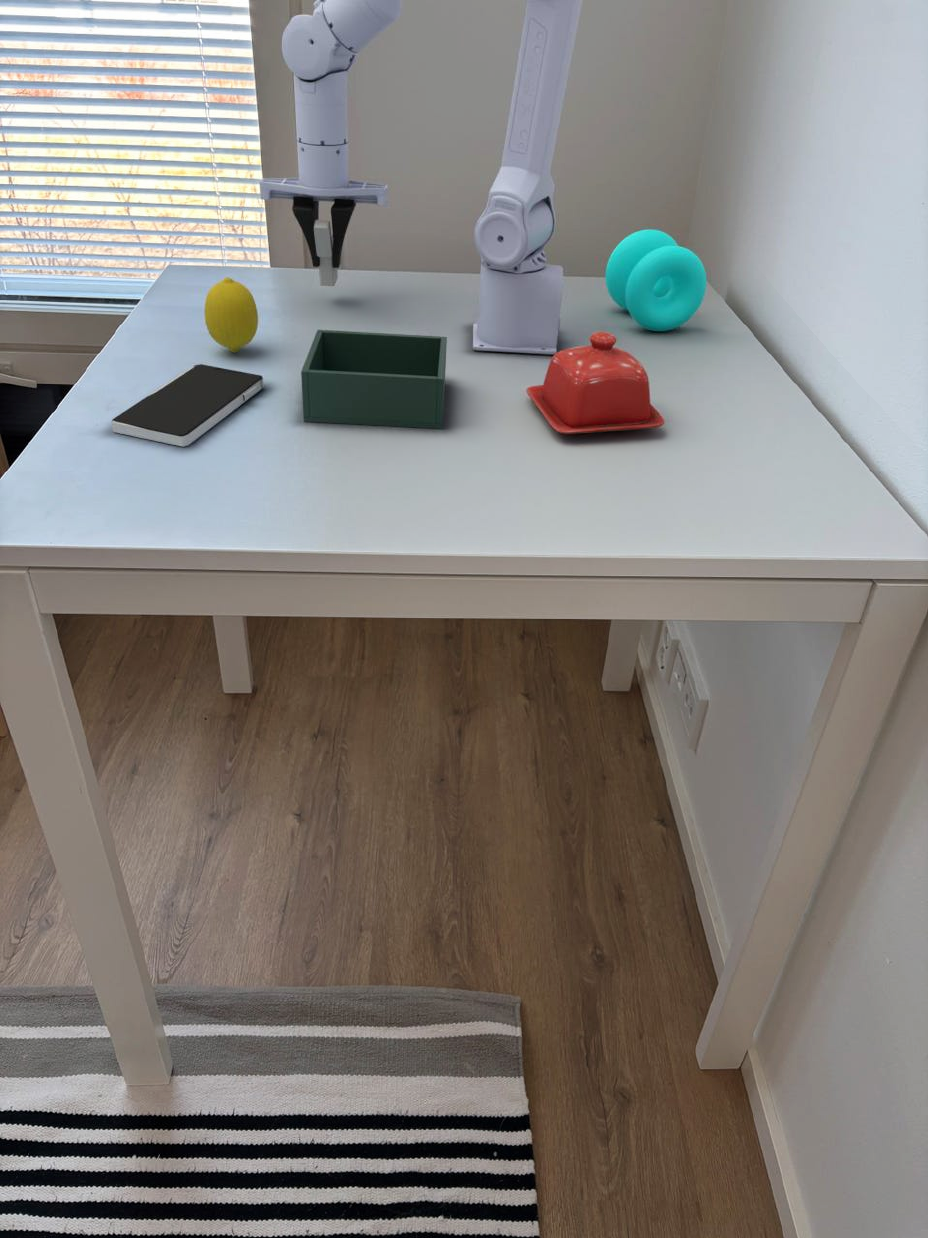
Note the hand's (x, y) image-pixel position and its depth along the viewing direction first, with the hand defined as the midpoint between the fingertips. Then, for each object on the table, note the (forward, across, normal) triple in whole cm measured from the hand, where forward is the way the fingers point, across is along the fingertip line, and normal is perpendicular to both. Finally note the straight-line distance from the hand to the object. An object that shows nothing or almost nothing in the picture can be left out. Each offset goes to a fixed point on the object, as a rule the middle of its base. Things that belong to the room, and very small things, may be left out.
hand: (327, 264), depth 115 cm
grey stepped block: (+2, 0, 0) cm, 3 cm away
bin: (+5, -8, +28) cm, 30 cm away
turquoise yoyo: (+5, -40, -1) cm, 40 cm away
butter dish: (+5, -30, +29) cm, 42 cm away
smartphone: (+5, +9, +32) cm, 34 cm away
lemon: (+5, +8, +17) cm, 20 cm away
